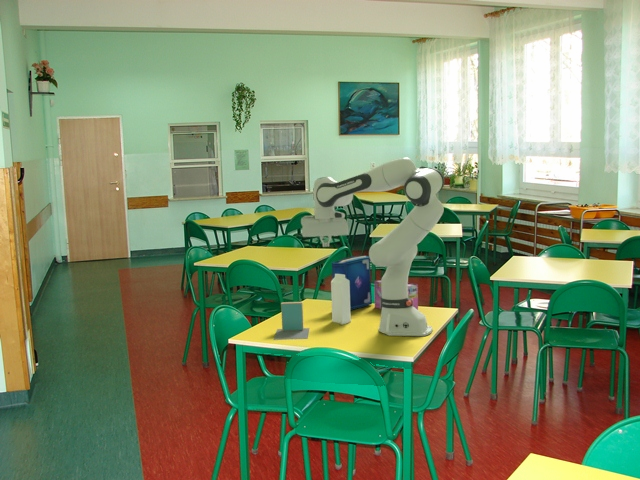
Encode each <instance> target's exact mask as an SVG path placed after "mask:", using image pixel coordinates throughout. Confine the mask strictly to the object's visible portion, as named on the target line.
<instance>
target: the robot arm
mask: <svg viewBox="0 0 640 480" xmlns="http://www.w3.org/2000/svg"><path fill="white" fill-rule="evenodd" d="M445 181H446V180H445V176H444V174H443V173H442V171H440V170H439V169H437V168H434V167H426V166H420V167H417V166H416V164H415V162H414V161H413V160H412V159H411V158H409V157H400V158H396V159H393V160H392V159H391V160H389V161H386V162H383V163H381V164H379V165H377V166H375V167H372V168H370V169H369V170H367V171H364V172H362V173H360V174H358V175H355V176H352V177H349V178H347V179H344V180H341V181H336V180H335V179H333V178H332V177H331V176H322V177H319V178H317V179H315V180H314V182H313V192H312V193H313V201H314V207H313V210H314V211H313V212H314V213H313V215H312V214H311V215H304V216H303V217H301V219H300V224H301V226H302V227H301V228H302V229H301V230H302V231H301V235H302V237H303V238H311V237H312V238H313V237H319V240H320V241H321V243H322V248H326V247H330V242H331V240H332V237H333V236H347V235H349V234H350V233H349V232H350V231H349V226H348V221H347V219H345V217H346V214H345V213H344V212H340V211H338V210H335V207H345V206H348V205H350V204H351V203H352V202H353V200H354V194H357V193H362V192H371V193H373V192H374V193H375V192H377V193H379V192H381V193H382V192H388V191H391V190H394V189H396V188H399V187H403V192H404V195H405V196H406V198H408V200H409V201H410V202H411V204H412V205H413V206H414V207H413V208H412V209H411V210H410V212H409V213H408V214H407V215H406V216H405V217H404V218H403V220H402V221H401V222H400V223H399V224H398V225H397V226H395V227H394V228H393V229H392V230H390V231H389V232H388V233H387V234H386V235H385V236H384V237H382V238H381V239H380V240H378V241H377V242H375V243H373V244H372V245H371V246H370V247H369V250H368V256H369V258H370V263H372V264H373V265H374V266H376V267H381V268H382V267H383V268H384V267H386V270H385V272H384V274H382V275H383V276H382V277H381V280H380V281H381V295H382V297H381V300H380V307H381V309H380V310H381V312H380V320H379V321H380V322H379V325H378V326H379V327H378V332H380V333H383V334H385V335H386V336H392V337H394V336H399V337H402V336H403V337H404V336H405V337H410V336H411V337H425V336H428V335H430V334H431V333H432V332H433V327H432V326H431V325H428V320H427V317H426V315H425V314H424V313H423V312H421V311H420V310H419V309H418V310H417V309H416V308H415V307H413V298H412V299H411V298H409V297H408V283H409V275H410V271H411V270H410V269H411V267H412V262H413V261H414V259H415V258H416V256H417V254H418V244H419V243H421V242H422V241H423V240H424V238H425V237H427V235H428V234H429V233H430V232H431V231H432V230H433V229H434V227H435V226H436V225H437V223H438V222H439V221H440V220H441V217H442V216H443V214H444V212H445V211H444V204H443V203H442V202H441V200H440V199H438V197H437V194H438V193H440V192H441V191H442V189H443V187H444V186H445ZM324 237H328V241H327V242H326V241H324V240H323V239H324Z"/></svg>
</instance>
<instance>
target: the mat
mask: <svg viewBox="0 0 640 480" xmlns="http://www.w3.org/2000/svg"><path fill="white" fill-rule="evenodd" d="M309 334H310V327H306V328H305V327H304V330H301V331H282V328H277V329H276V331H275V334H274V338H273V341H278V340H281V341H282V340H284V341H285V340H308V339H309Z"/></svg>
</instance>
